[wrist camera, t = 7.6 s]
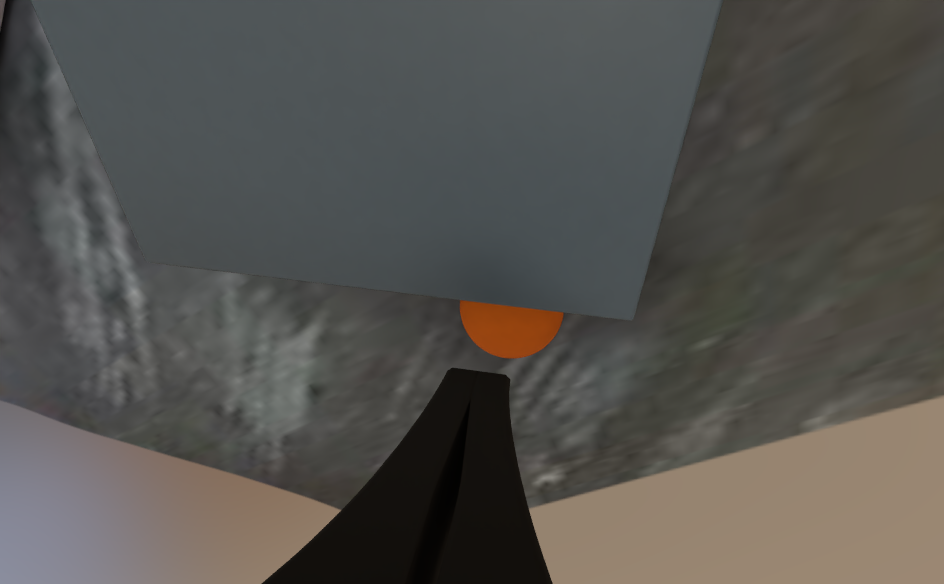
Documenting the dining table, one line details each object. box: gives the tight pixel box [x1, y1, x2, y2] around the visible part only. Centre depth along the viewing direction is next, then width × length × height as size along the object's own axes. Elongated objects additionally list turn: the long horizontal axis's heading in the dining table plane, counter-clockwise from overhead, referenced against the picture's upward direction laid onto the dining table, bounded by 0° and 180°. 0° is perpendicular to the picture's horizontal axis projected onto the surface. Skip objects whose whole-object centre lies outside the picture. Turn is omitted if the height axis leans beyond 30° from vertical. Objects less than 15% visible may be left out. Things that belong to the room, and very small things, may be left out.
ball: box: [460, 300, 563, 358], centre depth 19 cm, size 4×4×4 cm
